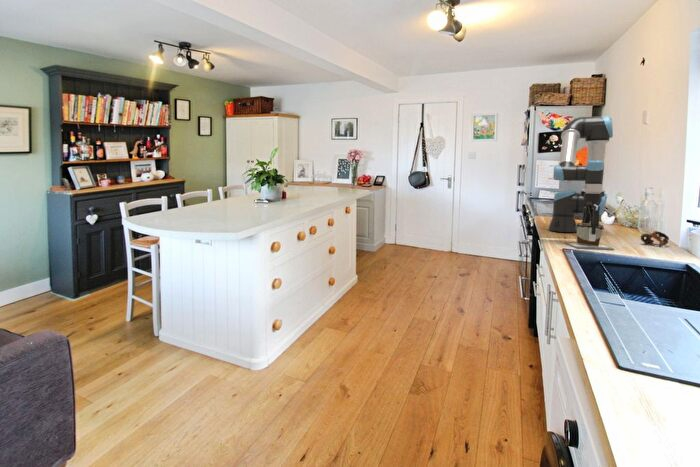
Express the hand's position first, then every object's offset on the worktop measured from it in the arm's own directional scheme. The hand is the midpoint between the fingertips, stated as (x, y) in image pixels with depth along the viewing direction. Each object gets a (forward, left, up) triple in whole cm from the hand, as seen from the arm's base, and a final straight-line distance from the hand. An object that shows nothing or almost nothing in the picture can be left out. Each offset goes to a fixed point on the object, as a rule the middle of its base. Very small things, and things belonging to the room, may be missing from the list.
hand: (588, 240), depth 209 cm
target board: (0, 0, -3) cm, 3 cm away
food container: (-1, 0, -2) cm, 2 cm away
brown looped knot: (-15, +34, -4) cm, 38 cm away
